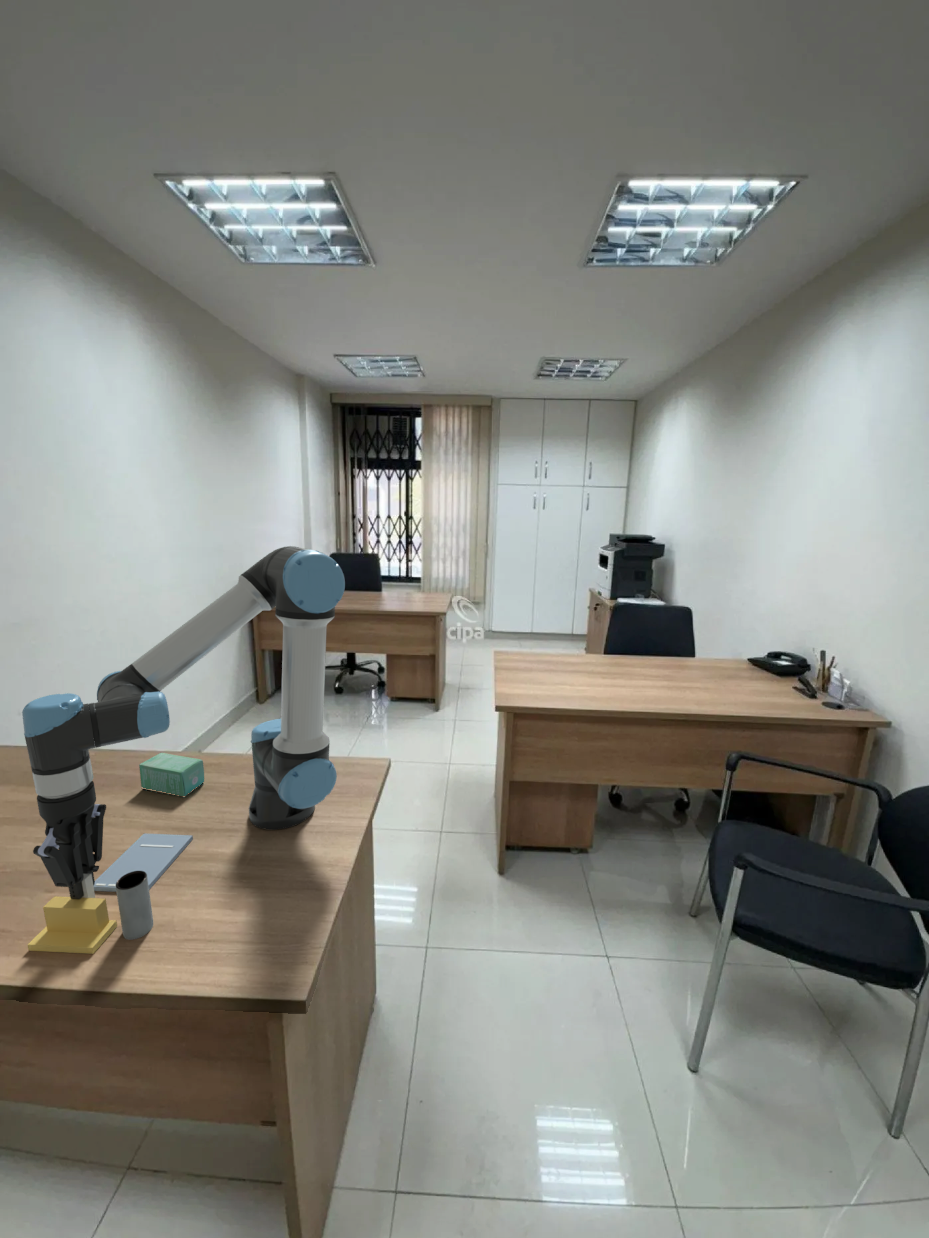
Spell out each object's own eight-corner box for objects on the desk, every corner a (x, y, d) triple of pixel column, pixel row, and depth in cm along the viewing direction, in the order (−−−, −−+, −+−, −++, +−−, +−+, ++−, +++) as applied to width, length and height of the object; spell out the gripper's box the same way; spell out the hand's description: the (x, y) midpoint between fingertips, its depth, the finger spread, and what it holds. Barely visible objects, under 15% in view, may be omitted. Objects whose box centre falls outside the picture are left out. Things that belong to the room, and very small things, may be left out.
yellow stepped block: (117, 926, 89) (112, 897, 87) (93, 953, 83) (88, 923, 82) (56, 923, 89) (51, 894, 88) (28, 950, 83) (22, 920, 82)
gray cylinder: (132, 920, 90) (124, 870, 88) (158, 919, 91) (152, 869, 88) (117, 941, 86) (109, 890, 84) (145, 940, 86) (138, 888, 84)
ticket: (193, 840, 112) (192, 834, 112) (146, 894, 96) (145, 888, 96) (144, 838, 112) (143, 832, 112) (90, 891, 97) (89, 885, 96)
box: (185, 798, 128) (182, 771, 126) (140, 791, 131) (137, 764, 129) (206, 783, 135) (203, 757, 133) (163, 776, 138) (160, 751, 136)
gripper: (74, 766, 90) (92, 880, 95) (7, 809, 77) (32, 938, 82) (115, 768, 90) (131, 882, 95) (55, 811, 77) (77, 940, 82)
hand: (85, 908), depth 88 cm, fingers closed
